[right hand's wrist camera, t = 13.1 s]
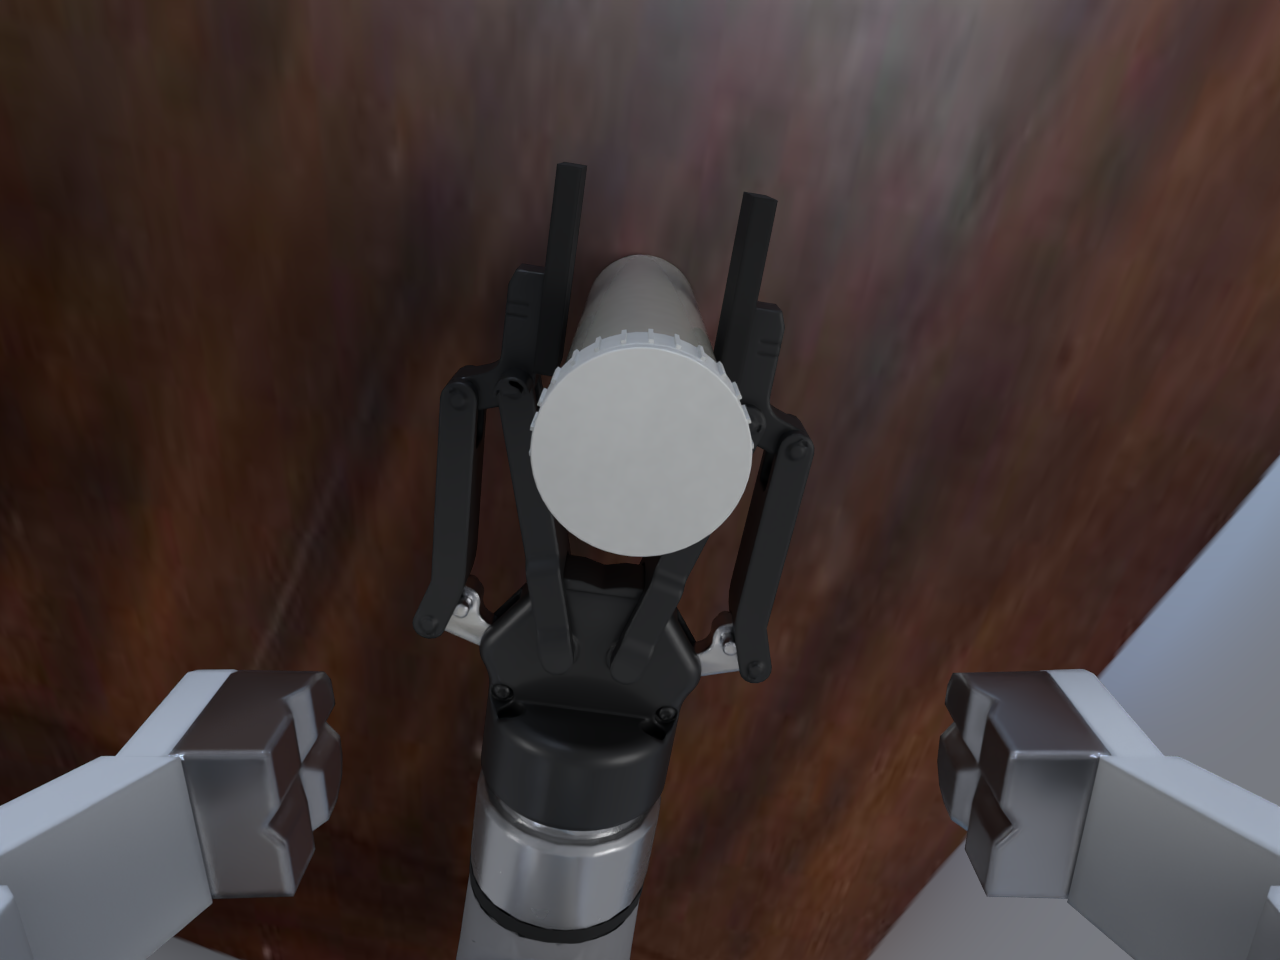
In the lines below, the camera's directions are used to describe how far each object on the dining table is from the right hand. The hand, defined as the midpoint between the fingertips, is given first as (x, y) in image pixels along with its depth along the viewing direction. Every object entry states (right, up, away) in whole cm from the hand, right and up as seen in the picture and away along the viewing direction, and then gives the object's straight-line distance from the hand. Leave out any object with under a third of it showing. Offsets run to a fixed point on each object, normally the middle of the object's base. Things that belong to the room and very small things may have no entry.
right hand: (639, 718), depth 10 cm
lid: (0, +3, +9) cm, 10 cm away
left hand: (+1, +12, +18) cm, 22 cm away
